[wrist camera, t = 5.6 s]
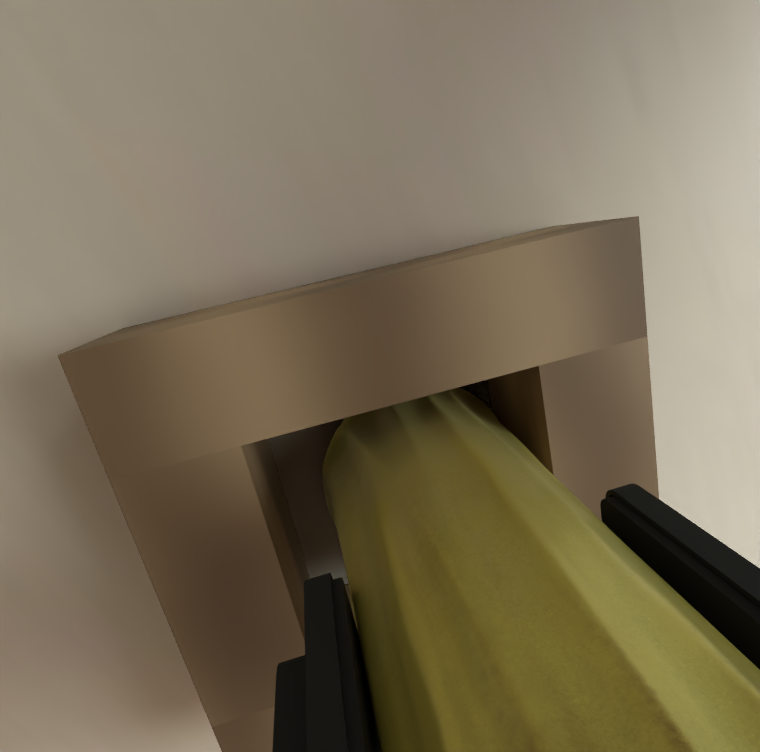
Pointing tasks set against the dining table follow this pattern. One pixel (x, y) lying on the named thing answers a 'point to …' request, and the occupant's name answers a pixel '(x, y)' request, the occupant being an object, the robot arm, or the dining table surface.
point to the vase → (514, 602)
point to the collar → (344, 399)
